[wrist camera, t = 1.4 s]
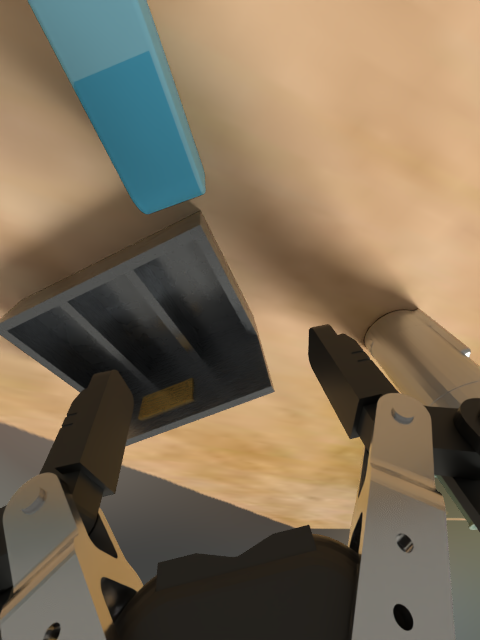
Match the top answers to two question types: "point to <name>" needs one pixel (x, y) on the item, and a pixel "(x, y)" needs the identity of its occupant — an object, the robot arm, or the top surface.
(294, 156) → the top surface
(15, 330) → the rack
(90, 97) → the blue flat rounded slab
